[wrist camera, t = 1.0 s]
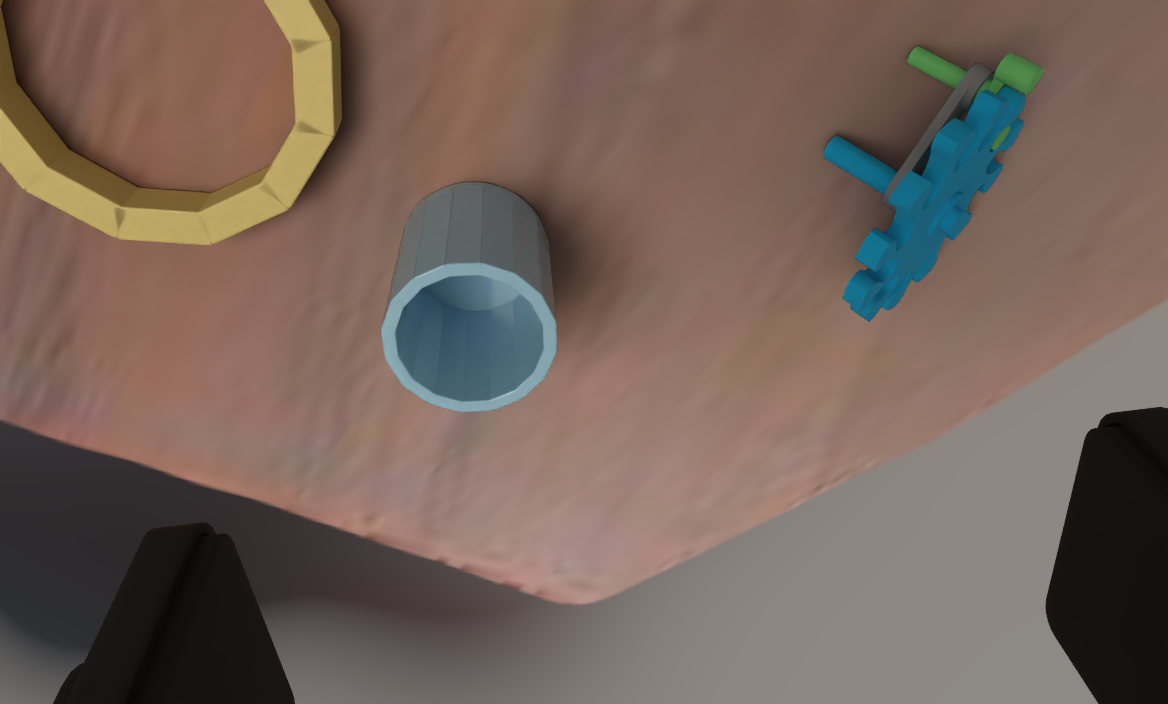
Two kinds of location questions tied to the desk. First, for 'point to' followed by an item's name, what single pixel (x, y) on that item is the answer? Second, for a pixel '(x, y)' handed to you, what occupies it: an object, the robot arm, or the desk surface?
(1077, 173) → the desk surface
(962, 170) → the blue branched piece
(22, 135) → the ring
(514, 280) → the cup
